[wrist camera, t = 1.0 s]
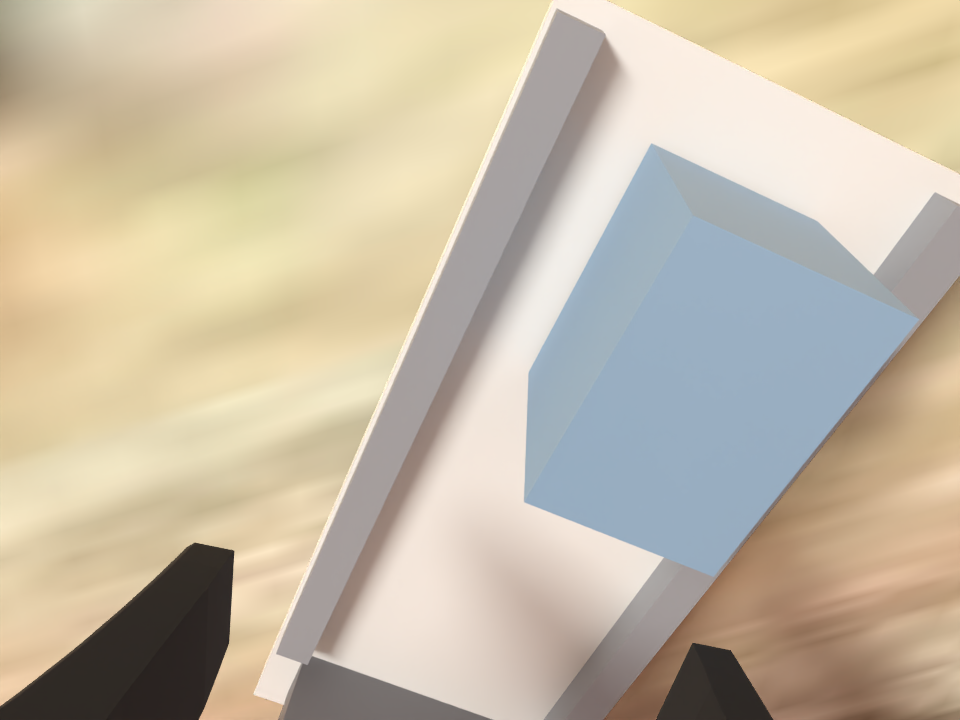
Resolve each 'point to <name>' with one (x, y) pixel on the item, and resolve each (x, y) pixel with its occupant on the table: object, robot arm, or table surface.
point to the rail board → (504, 387)
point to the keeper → (699, 364)
